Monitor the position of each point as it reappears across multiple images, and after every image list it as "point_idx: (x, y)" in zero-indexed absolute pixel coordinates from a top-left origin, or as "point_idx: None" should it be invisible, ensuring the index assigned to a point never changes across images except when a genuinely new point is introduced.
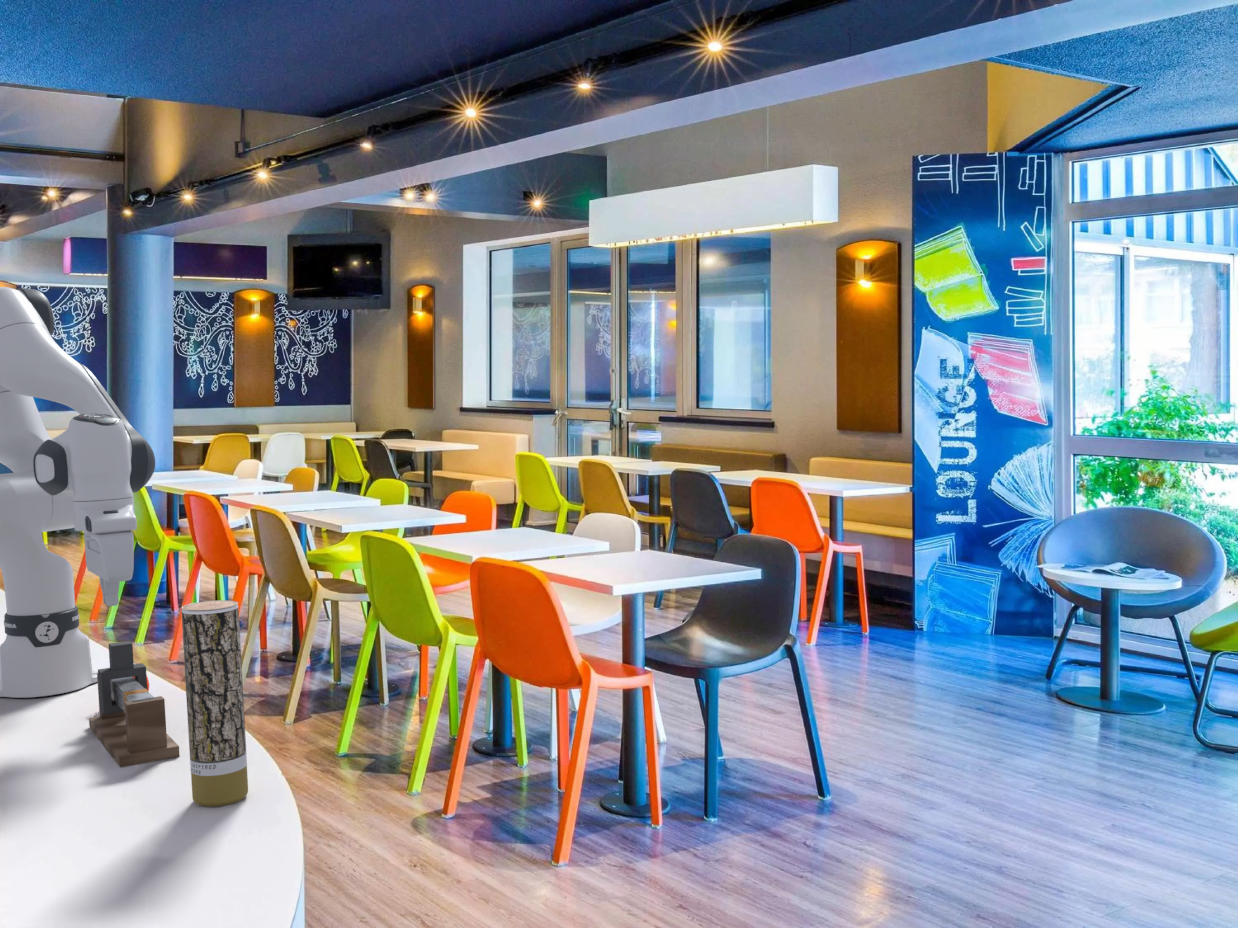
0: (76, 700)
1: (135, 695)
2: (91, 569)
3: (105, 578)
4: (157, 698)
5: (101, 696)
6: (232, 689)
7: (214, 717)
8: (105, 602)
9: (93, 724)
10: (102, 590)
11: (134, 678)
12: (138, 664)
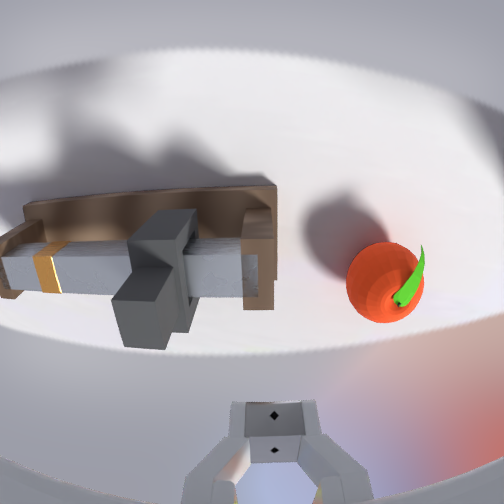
0: (472, 203)
1: (26, 268)
2: (451, 496)
3: (3, 468)
4: (4, 290)
5: (163, 219)
6: None
7: None
8: (258, 407)
9: (225, 189)
10: (311, 445)
11: (358, 302)
12: (178, 324)
